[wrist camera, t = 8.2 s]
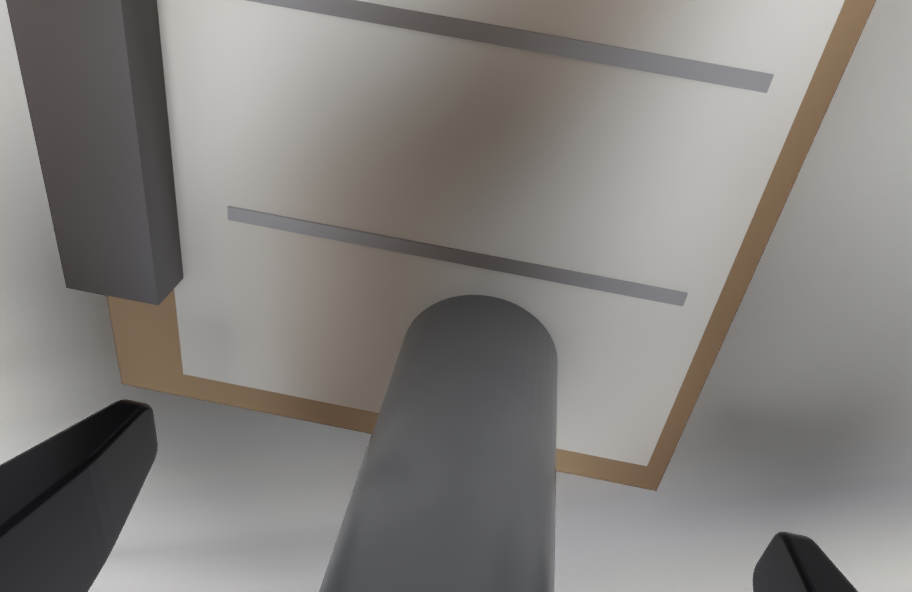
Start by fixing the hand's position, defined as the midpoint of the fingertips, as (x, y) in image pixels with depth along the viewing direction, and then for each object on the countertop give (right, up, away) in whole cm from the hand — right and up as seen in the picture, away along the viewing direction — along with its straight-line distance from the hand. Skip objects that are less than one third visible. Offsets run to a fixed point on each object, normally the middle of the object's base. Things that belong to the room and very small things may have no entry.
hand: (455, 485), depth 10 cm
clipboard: (-1, +5, +1) cm, 5 cm away
